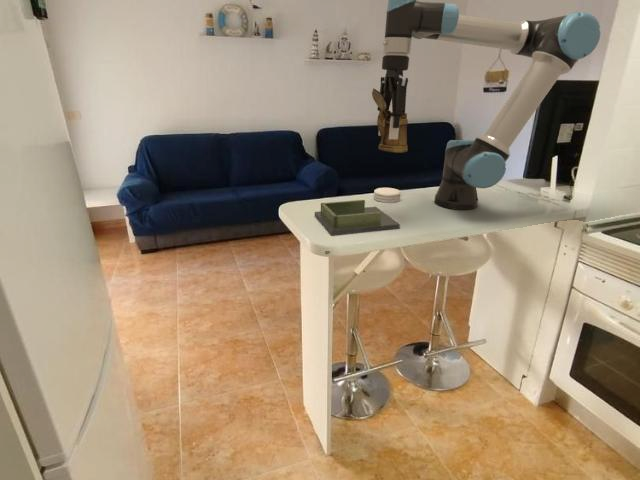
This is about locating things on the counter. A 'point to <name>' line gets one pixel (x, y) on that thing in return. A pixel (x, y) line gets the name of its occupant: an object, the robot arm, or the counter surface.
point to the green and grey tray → (353, 218)
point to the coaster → (387, 195)
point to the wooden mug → (386, 143)
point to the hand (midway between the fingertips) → (387, 137)
